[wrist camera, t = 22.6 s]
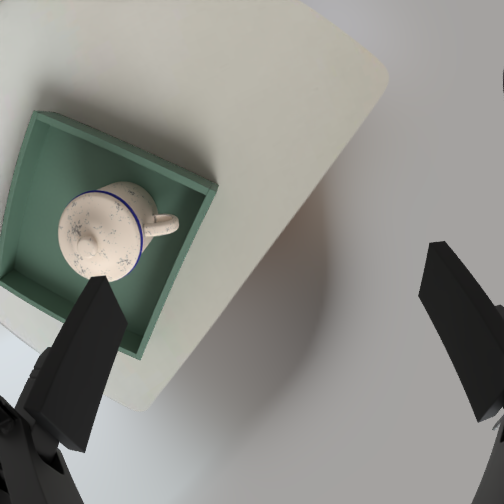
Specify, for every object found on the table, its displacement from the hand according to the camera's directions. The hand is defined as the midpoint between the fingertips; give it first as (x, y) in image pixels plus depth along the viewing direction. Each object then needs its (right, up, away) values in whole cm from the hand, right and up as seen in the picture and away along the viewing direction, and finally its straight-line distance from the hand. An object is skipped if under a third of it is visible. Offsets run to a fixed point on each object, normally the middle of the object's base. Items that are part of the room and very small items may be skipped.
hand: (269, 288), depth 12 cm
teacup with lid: (-14, +6, +24) cm, 29 cm away
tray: (-20, +4, +25) cm, 33 cm away
